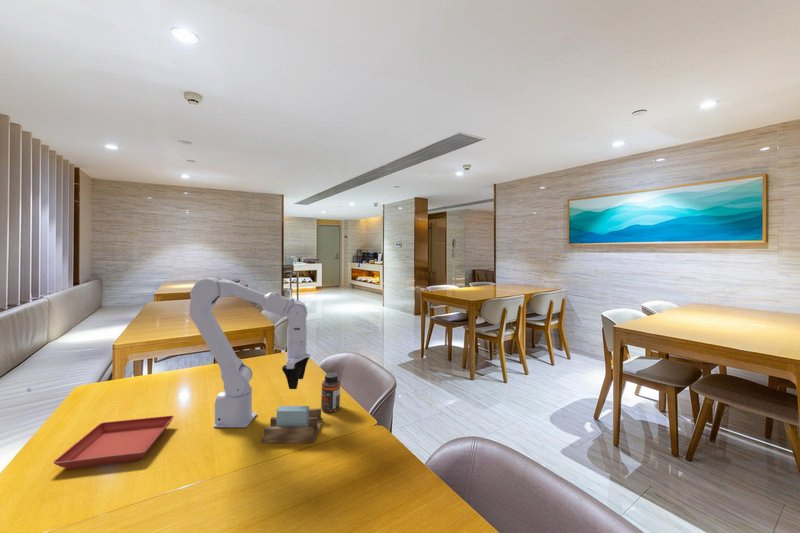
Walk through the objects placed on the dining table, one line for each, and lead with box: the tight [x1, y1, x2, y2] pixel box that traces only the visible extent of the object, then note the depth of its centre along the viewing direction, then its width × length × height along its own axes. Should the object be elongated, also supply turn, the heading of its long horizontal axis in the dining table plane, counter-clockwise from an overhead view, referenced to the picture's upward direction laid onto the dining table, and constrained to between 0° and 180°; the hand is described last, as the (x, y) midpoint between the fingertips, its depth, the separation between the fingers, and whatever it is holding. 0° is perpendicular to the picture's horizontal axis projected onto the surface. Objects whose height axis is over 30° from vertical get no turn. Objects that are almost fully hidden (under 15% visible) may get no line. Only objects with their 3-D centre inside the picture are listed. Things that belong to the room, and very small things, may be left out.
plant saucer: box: [52, 415, 175, 470], centre depth 85 cm, size 18×18×3 cm
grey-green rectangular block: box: [276, 405, 310, 427], centre depth 91 cm, size 8×3×7 cm, turn 92°
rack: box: [260, 408, 324, 444], centre depth 94 cm, size 14×12×4 cm
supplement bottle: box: [320, 372, 341, 413], centre depth 108 cm, size 6×6×11 cm
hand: (296, 383), depth 103 cm, fingers open, 7 cm apart
